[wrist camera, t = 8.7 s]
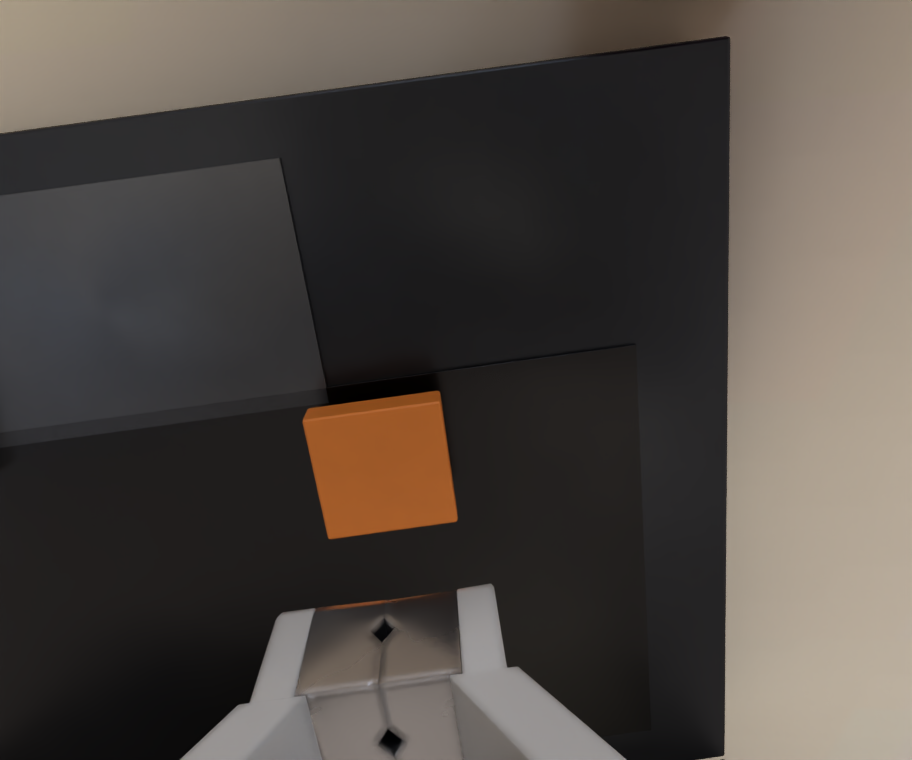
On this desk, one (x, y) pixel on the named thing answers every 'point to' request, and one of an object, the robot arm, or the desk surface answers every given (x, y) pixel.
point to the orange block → (381, 464)
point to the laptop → (369, 389)
